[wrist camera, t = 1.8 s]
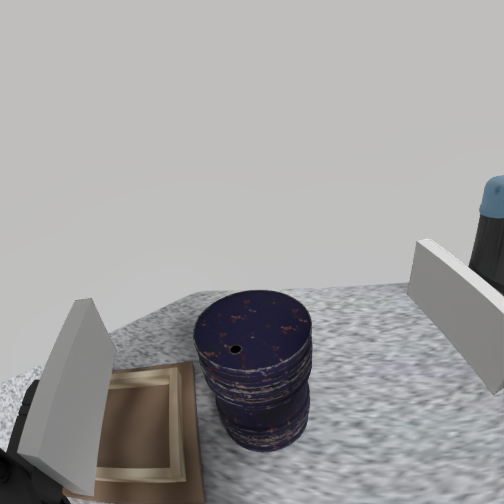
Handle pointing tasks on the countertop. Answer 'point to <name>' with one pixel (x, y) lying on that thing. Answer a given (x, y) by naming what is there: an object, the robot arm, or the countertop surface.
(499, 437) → the countertop surface
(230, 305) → the dark blue barrel
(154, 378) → the base board
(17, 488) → the robot arm
